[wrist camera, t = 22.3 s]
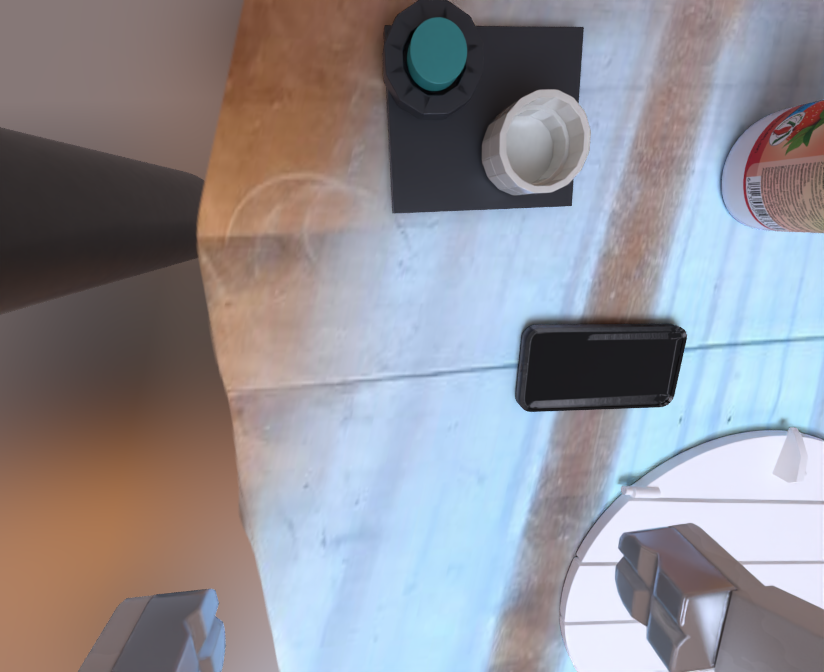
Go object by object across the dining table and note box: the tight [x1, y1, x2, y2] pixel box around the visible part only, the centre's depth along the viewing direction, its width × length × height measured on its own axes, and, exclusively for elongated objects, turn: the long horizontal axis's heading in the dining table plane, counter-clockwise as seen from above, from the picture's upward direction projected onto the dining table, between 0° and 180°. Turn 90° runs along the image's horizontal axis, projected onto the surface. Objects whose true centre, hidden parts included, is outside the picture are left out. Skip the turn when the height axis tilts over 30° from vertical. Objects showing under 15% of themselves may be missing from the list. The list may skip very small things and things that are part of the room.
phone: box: [516, 324, 687, 412], centre depth 38 cm, size 8×1×15 cm
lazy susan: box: [560, 427, 824, 672], centre depth 47 cm, size 40×39×3 cm
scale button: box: [407, 17, 467, 91], centre depth 27 cm, size 4×4×2 cm
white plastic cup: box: [482, 89, 591, 195], centre depth 29 cm, size 6×6×4 cm
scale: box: [382, 0, 584, 213], centre depth 30 cm, size 14×13×3 cm
